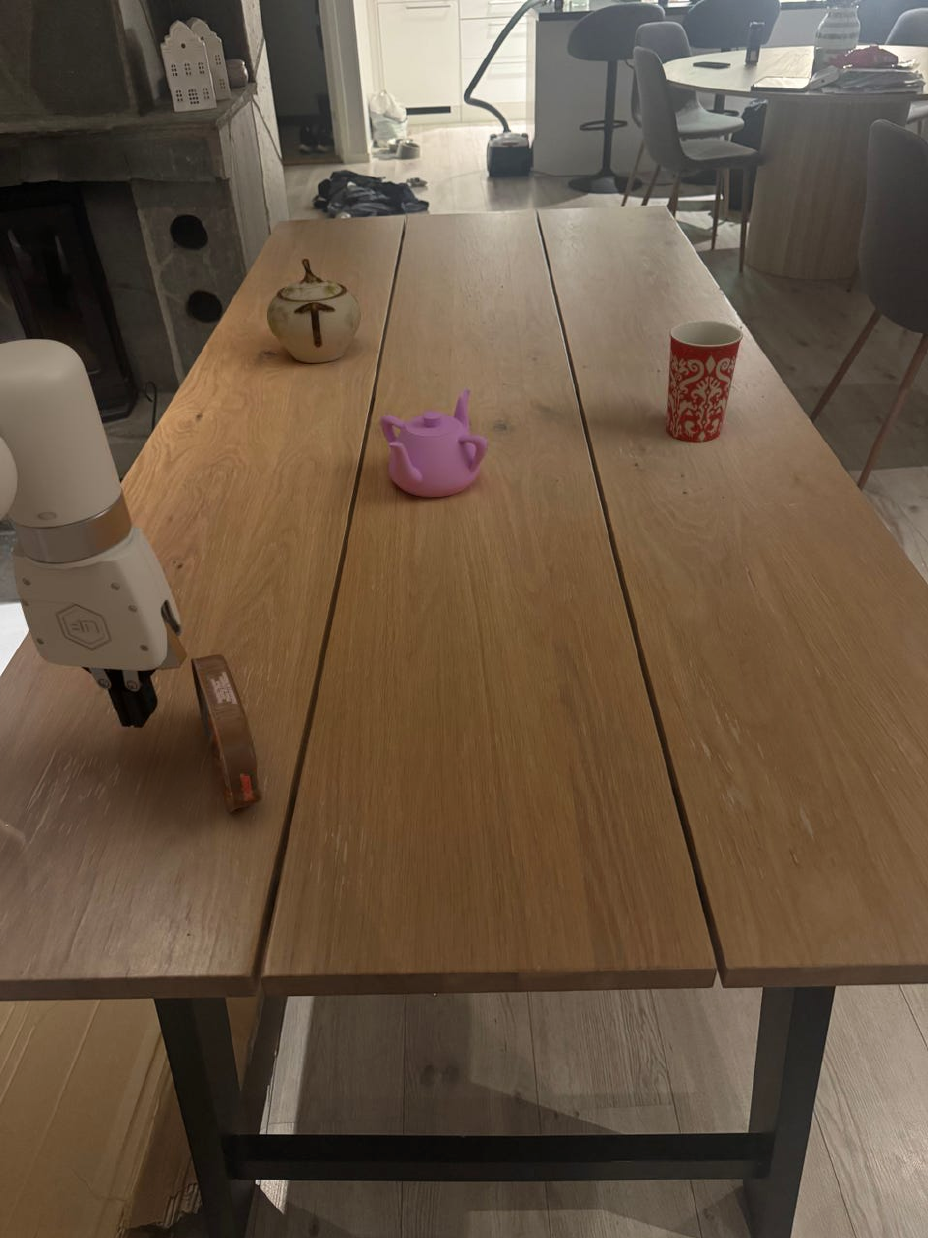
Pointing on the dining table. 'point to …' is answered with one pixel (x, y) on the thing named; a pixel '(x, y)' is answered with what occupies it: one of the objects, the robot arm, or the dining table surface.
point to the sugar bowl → (314, 318)
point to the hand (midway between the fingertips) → (140, 715)
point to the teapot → (434, 451)
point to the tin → (226, 731)
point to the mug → (700, 378)
